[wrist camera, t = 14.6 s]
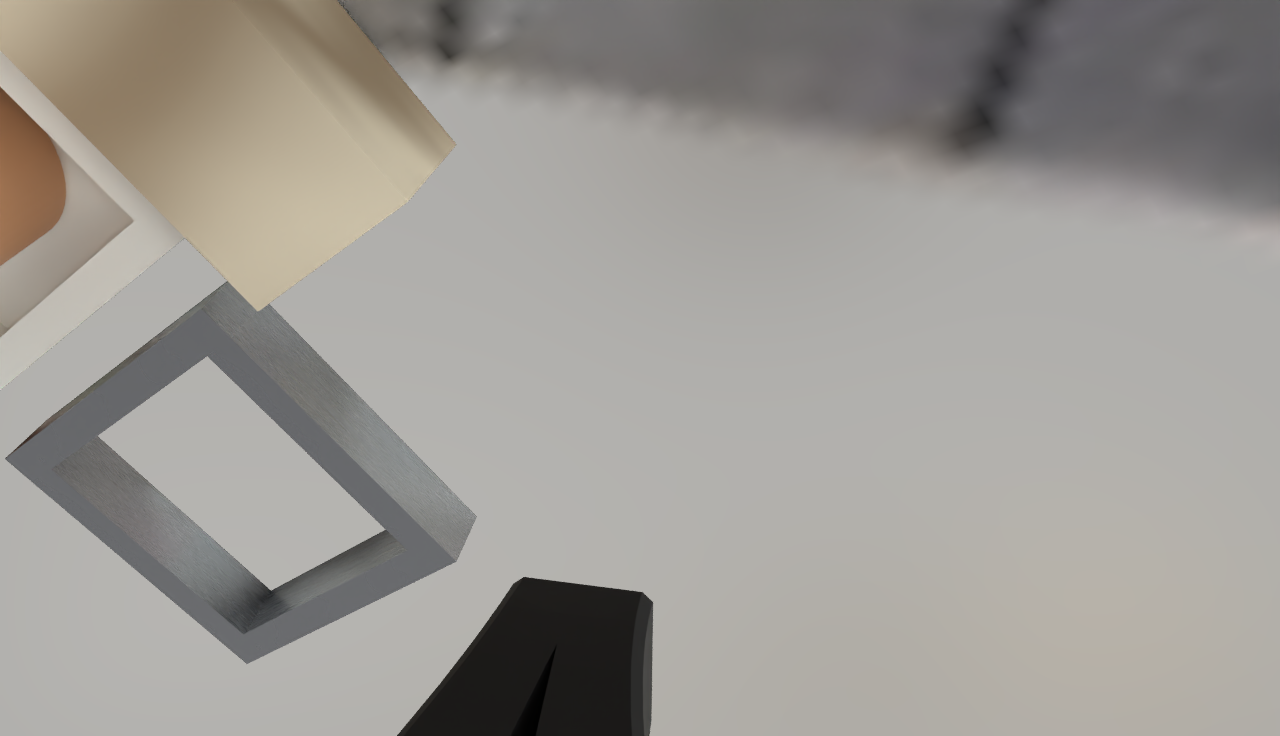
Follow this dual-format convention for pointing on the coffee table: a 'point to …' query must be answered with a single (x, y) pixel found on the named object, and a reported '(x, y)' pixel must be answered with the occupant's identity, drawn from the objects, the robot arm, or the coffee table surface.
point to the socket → (312, 416)
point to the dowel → (26, 180)
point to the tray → (73, 241)
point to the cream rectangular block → (236, 121)
